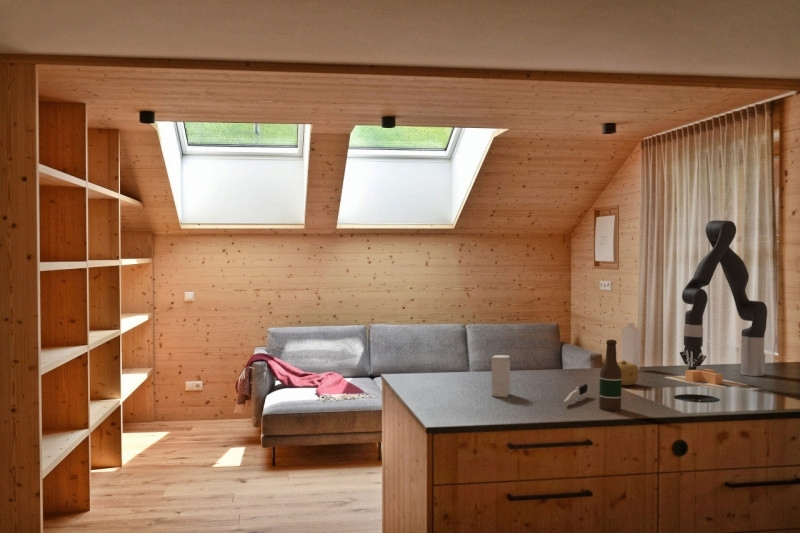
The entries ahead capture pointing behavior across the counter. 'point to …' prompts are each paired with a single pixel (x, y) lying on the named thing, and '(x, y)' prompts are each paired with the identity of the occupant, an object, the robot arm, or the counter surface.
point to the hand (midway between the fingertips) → (692, 375)
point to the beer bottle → (610, 380)
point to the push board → (724, 383)
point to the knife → (575, 394)
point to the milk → (630, 344)
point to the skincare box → (501, 375)
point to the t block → (704, 376)
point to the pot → (628, 373)
